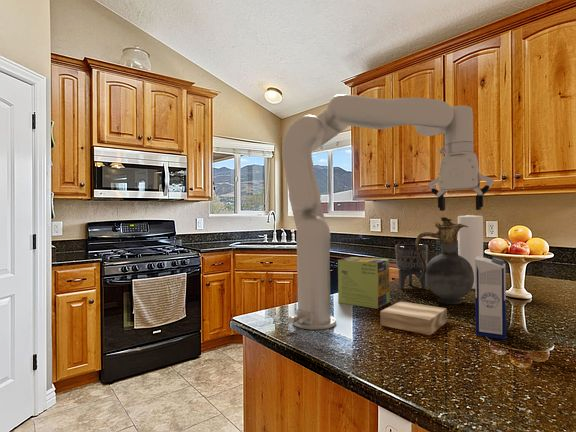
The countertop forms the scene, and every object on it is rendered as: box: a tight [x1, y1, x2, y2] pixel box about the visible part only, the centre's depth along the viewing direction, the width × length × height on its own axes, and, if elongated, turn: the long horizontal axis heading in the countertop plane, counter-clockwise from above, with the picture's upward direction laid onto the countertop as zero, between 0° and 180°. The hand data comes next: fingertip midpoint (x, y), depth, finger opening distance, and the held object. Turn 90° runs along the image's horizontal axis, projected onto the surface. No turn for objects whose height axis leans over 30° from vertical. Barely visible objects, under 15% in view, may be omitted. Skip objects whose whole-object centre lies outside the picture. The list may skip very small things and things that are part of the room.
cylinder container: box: [457, 214, 484, 290], centre depth 153 cm, size 9×9×30 cm
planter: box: [394, 243, 429, 290], centre depth 153 cm, size 13×13×18 cm
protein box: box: [337, 256, 391, 310], centre depth 130 cm, size 10×15×16 cm
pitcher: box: [415, 216, 474, 305], centre depth 129 cm, size 11×19×30 cm, turn 60°
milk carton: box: [474, 256, 507, 340], centre depth 96 cm, size 7×7×20 cm
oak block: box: [379, 300, 448, 336], centre depth 105 cm, size 14×14×4 cm
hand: (460, 210), depth 105 cm, fingers open, 9 cm apart
